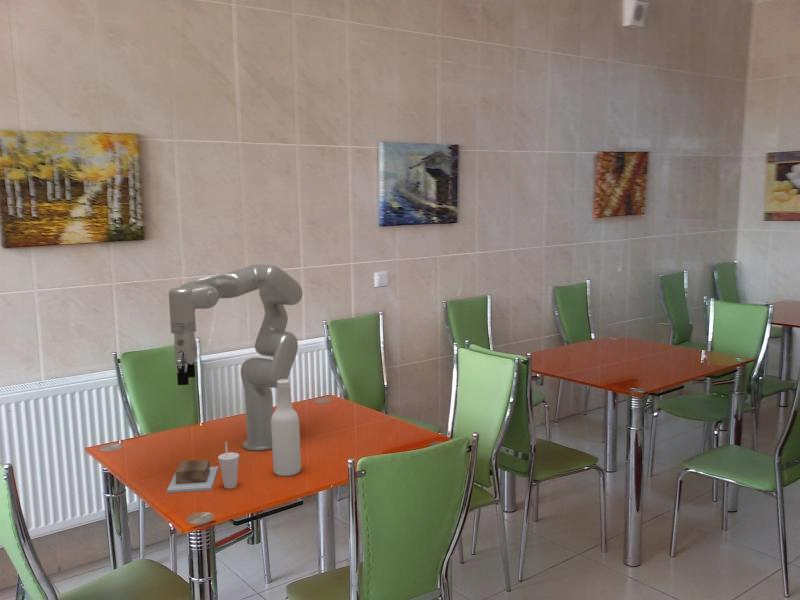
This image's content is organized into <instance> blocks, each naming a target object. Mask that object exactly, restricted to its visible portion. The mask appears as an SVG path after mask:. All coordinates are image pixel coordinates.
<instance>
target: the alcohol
mask: <svg viewBox="0 0 800 600" xmlns="http://www.w3.org/2000/svg"><path fill="white" fill-rule="evenodd" d="M290 386H291V384H290V380H289V379H282V380H278V381H277V387H278V388H276V389H277V393H276V394H277V395H276V408H275V410H274V411H273V415H272V418H271V431H272V448H271V450H272V466H273V467H272V468H273V470H272V471H273V472H274V474H275V475H277V476H279V477H291V476H292V477H293V476H295V475H298V474H299V473H300V471H301V470H302V460H301V457H302V456H301V455H302V453H301V434H300V417H299V414H298V413H297V411H296V410H295V409H294V407H293V405H292V397H291V388H290Z"/></svg>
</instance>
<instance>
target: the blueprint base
mask: <svg viewBox="0 0 800 600" xmlns="http://www.w3.org/2000/svg"><path fill="white" fill-rule="evenodd" d="M218 471H219V466H218V465H217V466H210V459H200V460H185V461H179V463H178V466H177V468H176V470H175V473H174V475H173V477H172V478H171V481H170V483H169V485H168V487H167V489H166V493H167V494H169V493H170V494H172V493H184V492H187V493H189V492H201V491H203V492H204V491H211V490H213V486H214V483H215V481H216V480H215V479H216V477H217V474H218Z"/></svg>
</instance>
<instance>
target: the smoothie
mask: <svg viewBox="0 0 800 600" xmlns="http://www.w3.org/2000/svg"><path fill="white" fill-rule="evenodd" d="M224 445H225V447H224V448H225V452H224V453H221V454H219V455H218V457H217V461H218V462H219V467H220V472H221V473H220V474H221V478H222V483H223V488H224V489H229V490H230V489H234V488H237V485H238V471H239V470H238V469H239V460H240V454H239V453H238V452H232V451H231V452H228V442H227V441H225V442H224Z"/></svg>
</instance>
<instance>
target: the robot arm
mask: <svg viewBox="0 0 800 600" xmlns="http://www.w3.org/2000/svg"><path fill="white" fill-rule="evenodd" d="M257 290H258V293H259V297H260V300H261V302H262V304H263V308H264V315H263V320H262V322H261V326H260V329H259V331H258V333H257V337H256V339H255V342H254V343H255V344H254V349H255V351H256V353H257V354H259V355H260V356H263V357H264V356H265V357H271V358H272V359H269V358H263V357H250V358H247V359H245V361H244V362H243V363H242V365H241V367H240V378H241V381H242V384H243V385H242V386H243V389H244V401H245V420H246V437H247V438H246V440H244V441H243V443H242V447H243V448H244V449H245V450H249V451H266V450H267V451H268V450H272V431H271V418H272V415H273V413H274V404H273V403H274V401H273V399H274V398H273V393H272V391H271V388H274V389H278V387H277V381H278V380H282V379H287V380H289V376H290V374H291V370H292V368H293V365H294V361H295V359H296V356H297V353H298V348H299V347H298V346H299V345H298V344H299V342H298V338H297V337H296V334H294V333H292V332H291V331H286V329H287V325H288V319H289V318H288V312H287V310H286V308H285V306H284V305H286V306H294V305H298V303H300V302H301V300H302V297H303V289H302V286H301V285H300V283H299V282H298V281H297V280H295V278H294V277H292V276H291V275H289V274H288V273H287V272H285V270H283V269H281V268H280V267H278V266H276V265H274V264H252V265H249V266H246V267H243V268H240V269H236V270H233V271H230V272H227V273H221V274H216V275H212V276H207V277H203V278H198V279H194V280H192V281H188V282H186V283H185V282H184V284H182V285H180V287H174V288H171V289H170V290H169V291H168V303H169V304H168V305H169V319H170V320H169V321H170V333H171V334H173V335H174V336H173V338H174V345H173V346H174V359H175V364H176V365H177V366H176V376H177V377H176V378H177V385H178V386H189V379H190V378H195V377H196V368H195V362H196V360H197V359H198V353H197V352H198V351H197V344H196V343H197V342H196V335H195V333H196V332H197V325H196V310H198V309H199V310H200V309H201V310H203V309H204V310H205V309H207V310H208V309H212V308H213V307H214V306H216V305H217V304H218V303H219V299H232V298H239V297H240V296H243V295H245V294H248V293H252V292H254V291H257Z"/></svg>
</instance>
